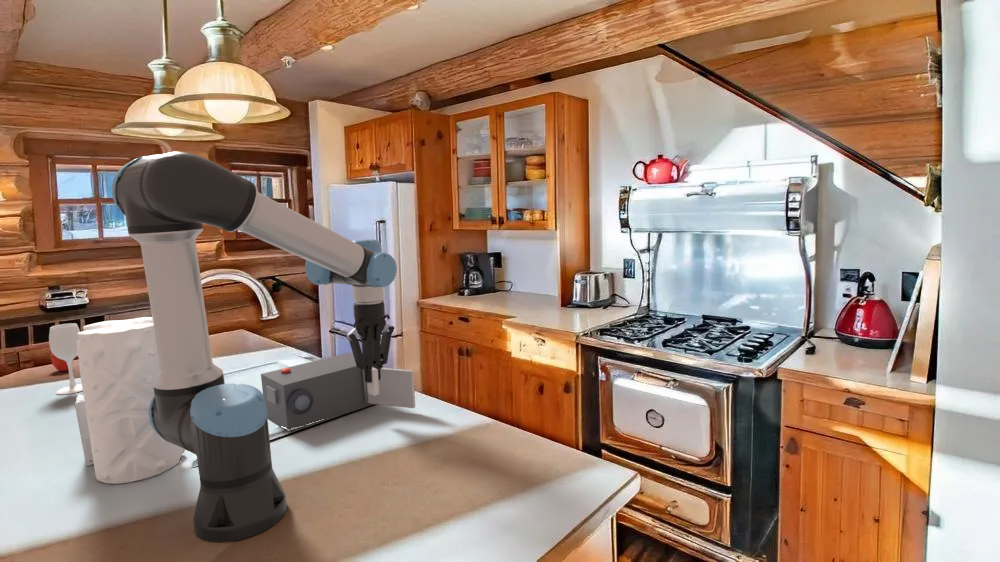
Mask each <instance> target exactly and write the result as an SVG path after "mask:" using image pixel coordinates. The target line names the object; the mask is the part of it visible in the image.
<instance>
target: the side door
mask: <svg viewBox="0 0 1000 562" xmlns="http://www.w3.org/2000/svg"><path fill="white" fill-rule="evenodd" d="M362 371H363V384H364V397H365V403H371V404H373V405H380V406H390V407H398V408H407V409H415V408H416V396H415V380H414V379H415V378H414V370H413V369H398V368H388V367H383V368H382V369H380V371H381V379H380V380H378V382H379V394H378V395H371V394H369V393H368V382H366V381H365V374H364V370H363V369H362Z"/></svg>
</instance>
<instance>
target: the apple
mask: <svg viewBox="0 0 1000 562" xmlns="http://www.w3.org/2000/svg"><path fill="white" fill-rule="evenodd" d="M73 360H74V359H73ZM73 360H72V362H73ZM50 361H51V363H52V366H53V367H54V368H55V369H56V371H59V372H65V371H67V372H68V371H69V369H68V365H67V362H66V361H65V360H62V359H59V358H57V357H56V356H54V355H53V353H52V352H51V354H50Z"/></svg>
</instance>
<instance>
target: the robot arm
mask: <svg viewBox="0 0 1000 562" xmlns="http://www.w3.org/2000/svg"><path fill="white" fill-rule="evenodd" d="M111 196H112V200H113V202H114V205H115V206H116V207H117V209H118V210H119V211H120V212H121V214H123V215H124V216H125V221H126V227H127V233H128V236H129V237H130V238H132V239H133V240H135V241H136V242H137V243H139V244H140V249H141V257H142V261H143V268H144V274H145V280H146V287H147V293H148V298H149V304H150V312H151V317H152V319H153V325H154V332H155V338H156V344H157V351H158V357H159V363H160V370H161V374H160V375H159V376H158V378H157V379H156V380H155V381H154V382H153V388H154V395H155V396H154V397H153V399H152V400H151V402H150V405H149V411H148V415H149V421H150V424H151V426H152V428H153V429H154V430H155V432H156V433H157V434H159V435H160V437H162V438H163V439H164V440H166V441H167V442H170V443H172V444H174V445H177V446H179V447H181V448H183V449H185V451H188V452H190V453H192V454H194V455H196V459H197V467H198V468H197V469H198V475H199V482H200V483H199V485H200V488H199V492H198V495H197V499H196V504H195V509H194V513H193V518H192V520H193V521H192V522H193V529H194V531H193V532H194V533H195V536H197V538H199V539H200V540H202V541H206V542H211V543H228V542H229V543H230V542H234V541H240V540H244V539H247V538H250V537H253V536H255V535H258V534H260V533H262V532H264V531H266V530H268V529H270V528H271V527H273V526H275V525H276V524H277V523H278V522H279V521H280V520H282V518H283V517H284V515H285V514H286V513H287V509H288V508H287V506H288V505H287V496H286V492H285V491H284V488H283V487H282V484H281V482H280V481H279V479H278V477H277V475H276V472H275V471H274V469H273V464H272V463H273V462H272V460H273V459H272V451H271V440H270V432H269V431H270V430H269V420H268V419H267V416H268V411H267V406H266V404H265V399H264V396H263V391H261V390H260V389H259V388H257V387H255V386H253V385H249V384H245V383H239V384H235V383H225V377H224V371H223V369H222V368H220V367H218V366H217V365H216V364H214V361H213V355H212V349H211V342H210V340H211V339H210V334H209V327H208V321H207V320H208V319H207V314H206V306H205V298H204V293H203V292H204V291H203V284H202V278H201V277H202V276H201V271H200V264H199V263H200V262H199V257H198V248H197V243H196V242H197V241H196V240H197V237H199V236H200V234H201V233H202V232H204V226H203V225H204V224H205V225H209V226H212V227H216V228H218V229H221V230H222V231H225V232H228V233H234V232H236V231H241V232H242V233H244V234H246V235H249V236H252V237H253V238H256V239H258V240H260V241H263V242H265V243H268V244H270V245H272V246H273V247H276V248H279V249H281V250H283V251H285V252H288V253H289V254H292V255H294V256H297V257H299V258H301V259H304V260H305V265H304V266H305V274H306V276H307V278H308V280H309V281H310V282H311V284H313V285H317V286H318V285H319V286H320V285H325V286H327V285H330V284H340V285H348V286H349V285H350V286H352V300H353V302H354V303H353V305H352V306H353V318H354V323H353V328H352V329H351V331H349V332H346V333H345V335H344V336H345V338H346V339H347V341H348V342H349V345H350V348H351V351H352V352H351V353H353V355H354V359H355V362H356V366H357V367H358V368H360V369H363V370H364V374H365V381H366V382H368V393H369V394H371V395H378V394H379V382H378V380H380V379H381V371H380V369H382V368H384V365H387V363H388V358H389V352H390V347H391V341H392V334H393V333H394V331H395V326H393V325H390V324H388V323H387V320H386V319H385V315H386V307H385V302H384V301H383V300H384V299H385V291H384V290H385V288H386V287H388V286H390V285H391V284H392V283H393V282H394V281H395V279H396V277H397V272H398V267H397V266H398V265H397V262H396V260H395V258H394V257H393V255H391V254H390V253H387V252H383V249H382V243H381V242H380V240H378V239H374V238H373V239H371V238H369V239H367V238H366V239H365V238H364V239H353V240H350V239H349V238H347V237H345V236H343V235H341V234H339V233H337V232H335V231H334V230H331V229H330V228H328V227H327V226H324V225H323V224H320V223H318V222H316V221H314V220H312V219H311V218H309V217H306V216H305V215H303V214H301V213H299V212H297V211H295V210H293V209H291V208H290V207H287V206H286V205H284V204H282V203H280V202H278V201H276V200H274V199H272V198H270V197H269V196H267V195H264V194H262V193H261V192H259V190H258V188H257V185H256V184H255V183H254V182H252V181H250V180H249V179H247V178H244V177H242V176H241V175H239V174H237V173H235V172H234V171H231V170H230V169H228V168H226V167H224V166H222V165H220V164H218V163H216V162H213V161H212V160H210V159H208V158H205V157H203V156H200V155H197V154H195V153H190V152H185V151H172V152H166V153H163V154H162V153H161V154H160V153H159V154H152V155H144V156H140V157H137V158H134V159H133V160H131V161H130V162H127V163H126V164H124V165H123V166H121V168H120V169H119V170H118V171H117V172H116V174H115V175H114V177H113V180H112V183H111ZM359 337H360V342H361V344H360V342H359V339H358V338H359ZM372 366H373V367H372Z"/></svg>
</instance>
